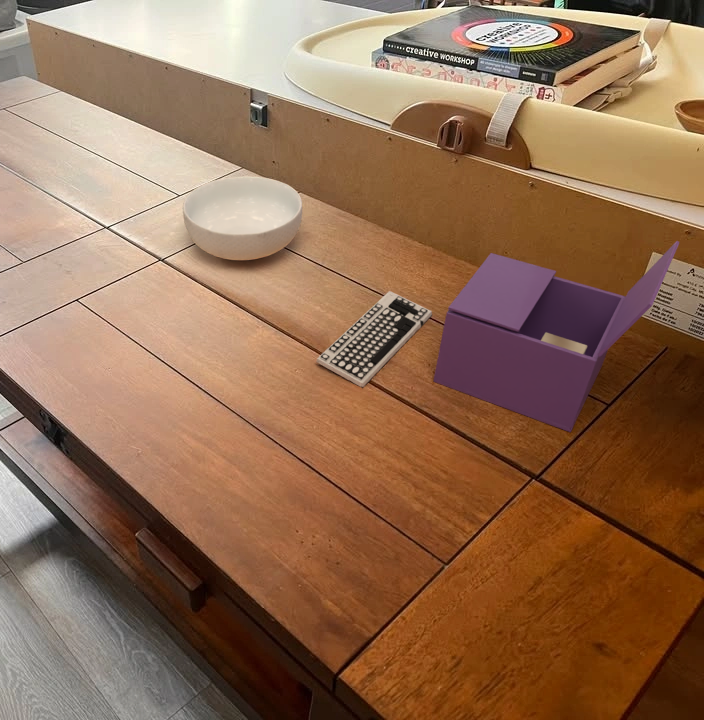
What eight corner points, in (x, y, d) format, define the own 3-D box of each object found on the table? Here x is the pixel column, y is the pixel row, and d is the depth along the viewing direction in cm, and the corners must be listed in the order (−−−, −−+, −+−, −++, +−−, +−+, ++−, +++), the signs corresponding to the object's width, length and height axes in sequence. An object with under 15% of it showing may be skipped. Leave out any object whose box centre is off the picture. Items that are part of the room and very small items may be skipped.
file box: (602, 365, 87) (629, 291, 80) (570, 432, 79) (598, 355, 72) (474, 324, 94) (490, 252, 87) (433, 381, 85) (447, 307, 79)
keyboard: (362, 388, 85) (364, 377, 84) (315, 367, 88) (316, 356, 87) (432, 315, 95) (434, 305, 94) (387, 299, 98) (388, 288, 97)
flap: (628, 291, 81) (630, 292, 80) (597, 355, 72) (600, 357, 72) (676, 240, 75) (679, 242, 75) (649, 303, 67) (652, 305, 67)
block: (576, 377, 85) (588, 345, 82) (565, 399, 82) (576, 367, 79) (536, 363, 87) (545, 331, 84) (523, 385, 84) (532, 353, 81)
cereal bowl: (187, 219, 116) (185, 176, 112) (296, 216, 116) (298, 173, 112) (182, 279, 103) (179, 233, 99) (305, 277, 103) (307, 231, 98)
